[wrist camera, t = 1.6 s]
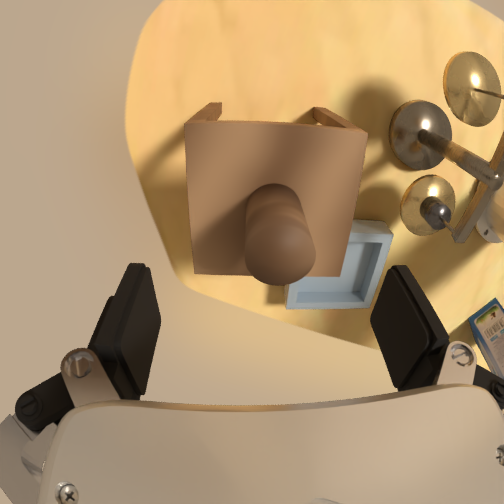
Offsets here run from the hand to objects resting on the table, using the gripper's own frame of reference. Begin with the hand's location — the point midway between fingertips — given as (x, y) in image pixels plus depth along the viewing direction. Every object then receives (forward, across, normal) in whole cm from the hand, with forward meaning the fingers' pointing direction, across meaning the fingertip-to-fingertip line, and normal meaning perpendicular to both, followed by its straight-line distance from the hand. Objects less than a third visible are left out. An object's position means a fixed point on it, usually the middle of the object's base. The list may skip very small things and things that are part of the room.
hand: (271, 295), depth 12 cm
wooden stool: (+18, -1, 0) cm, 18 cm away
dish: (+18, -9, +11) cm, 23 cm away
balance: (+18, -16, -4) cm, 24 cm away
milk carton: (+18, -42, +24) cm, 51 cm away
